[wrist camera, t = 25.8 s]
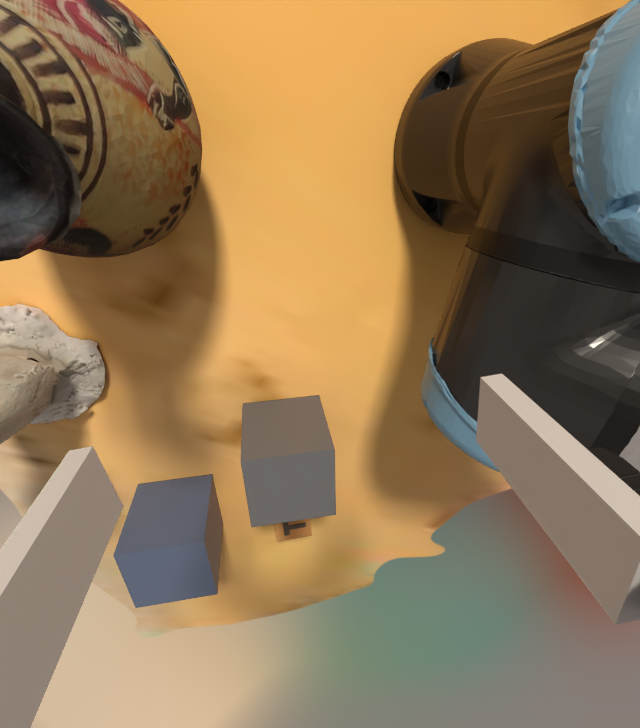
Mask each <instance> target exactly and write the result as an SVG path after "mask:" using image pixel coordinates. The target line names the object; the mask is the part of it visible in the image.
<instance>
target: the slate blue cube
mask: <svg viewBox="0 0 640 728" xmlns="http://www.w3.org/2000/svg"><path fill="white" fill-rule="evenodd" d="M222 528H223V522H222V517H221V513H220V508H219V503H218V499H217V494H216V489H215V485H214V480H213V475H212V474H211V475H203V476H196V477H188V478H181V479H173V480H166V481H158V482H151V483H143V484H138V486H137V489H136V492H135V495H134V498H133V501H132V504H131V506H130V509H129V512H128V515H127V518H126V521H125V524H124V527H123V529H122V532H121V535H120V538H119V541H118V544H117V547H116V549H115V552H114V558H115V560H116V562H117V565H118V567H119V570H120V572H121V574H122V577H123V579H124V581H125V584H126V586H127V588H128V591H129V593H130V595H131V598H132V600H133V603H134V605H135V607H136V608H138V607H144V606H150V605H156V604H162V603H168V602H174V601H180V600H186V599H191V598H197V597H203V596H209V595H215V594H217V593H218V580H219V567H220V554H221V541H222Z"/></svg>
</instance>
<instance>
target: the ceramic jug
mask: <svg viewBox="0 0 640 728" xmlns="http://www.w3.org/2000/svg"><path fill="white" fill-rule="evenodd" d="M201 158H202V142H201V130H200V125H199V121H198V118H197V114H196V111H195V107H194V104H193V101H192V98H191V95H190V93H189V90H188V88H187V86H186V84H185V81H184V79H183V77H182V75H181V73H180V71H179V69H178V68H177V66H176V64H175V63H174V61H173V59H172V58H171V56H170V54H169V53H168V51H167V50H166V49H165V47H164V46H163V45H162V43H161V42H160V40H159V39H158V38H157V37H156V36H155V34H154V33H153V32H152V31H151V29H150V28H149V27H148V26H147V25H146V24H145V23H144V22H143V21H142V20H141V19H140V18H139V17H138V16H137V15H135V14H134V13H133V12H132V11H131V10H130V9H129V8H127V7H126V6H125V5H124V4H123V3H121V2H120V1H118V0H0V261H5V260H12V259H19V258H21V257H23V256H25V255H27V254H29V253H31V252H33V251H35V250H37V249H42V250H46V251H49V252H54V253H59V254H64V255H71V256H80V257H95V258H96V257H113V256H120V255H125V254H129V253H132V252H135V251H138V250H141V249H143V248H146V247H149V246H151V245H153V244H155V243H156V242H158V241H159V240H161V239H163V238H164V237H166V236H167V235H168V234H169V233H171V232H172V231H173V230H174V229H175V227H176V226H177V225H178V223H179V222H180V220H181V219H182V218H183V216H184V215H185V213H186V212H187V211H188V209H189V208H190V205H191V203H192V200H193V198H194V195H195V193H196V189H197V185H198V181H199V177H200V172H201Z"/></svg>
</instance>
